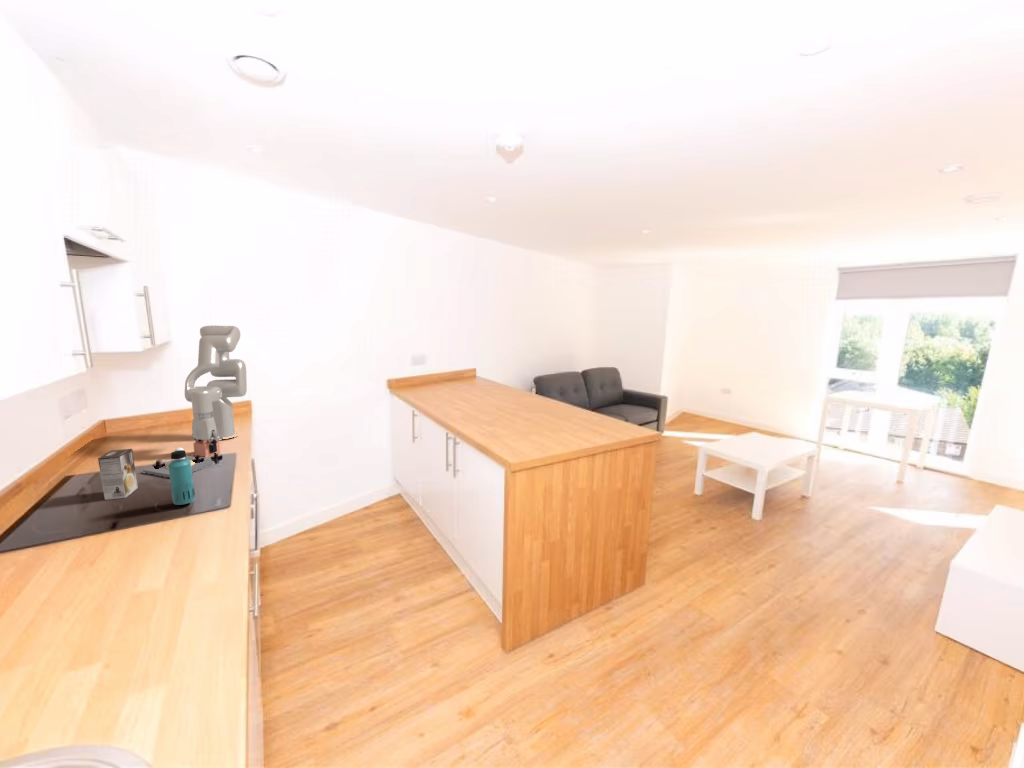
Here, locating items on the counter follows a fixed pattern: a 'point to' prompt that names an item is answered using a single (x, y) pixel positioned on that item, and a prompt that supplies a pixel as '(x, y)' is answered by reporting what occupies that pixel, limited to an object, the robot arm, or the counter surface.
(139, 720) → the counter surface
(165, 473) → the post board
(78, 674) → the counter surface
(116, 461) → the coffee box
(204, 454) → the collar
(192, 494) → the beverage bottle
